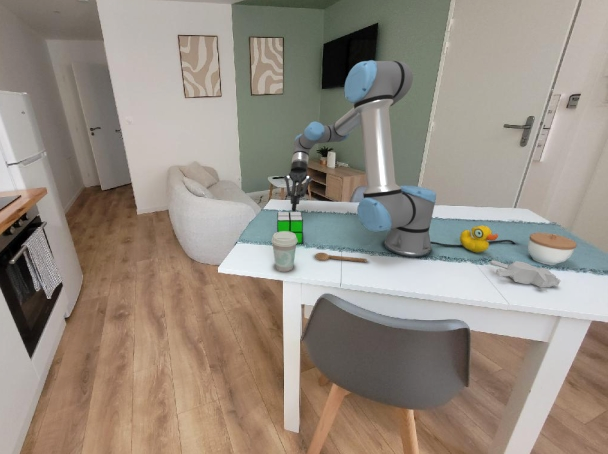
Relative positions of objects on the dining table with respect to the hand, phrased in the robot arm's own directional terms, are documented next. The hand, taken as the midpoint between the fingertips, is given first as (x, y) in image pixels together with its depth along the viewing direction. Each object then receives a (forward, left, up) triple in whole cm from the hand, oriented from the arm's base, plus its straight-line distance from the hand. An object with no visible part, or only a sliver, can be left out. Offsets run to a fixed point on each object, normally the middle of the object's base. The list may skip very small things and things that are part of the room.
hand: (293, 210), depth 128 cm
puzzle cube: (0, +12, -9) cm, 15 cm away
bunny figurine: (-72, +28, -9) cm, 78 cm away
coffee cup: (-2, +35, -9) cm, 36 cm away
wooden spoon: (-20, +26, -8) cm, 34 cm away
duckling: (-66, +10, -9) cm, 67 cm away
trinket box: (-85, +13, -9) cm, 86 cm away
